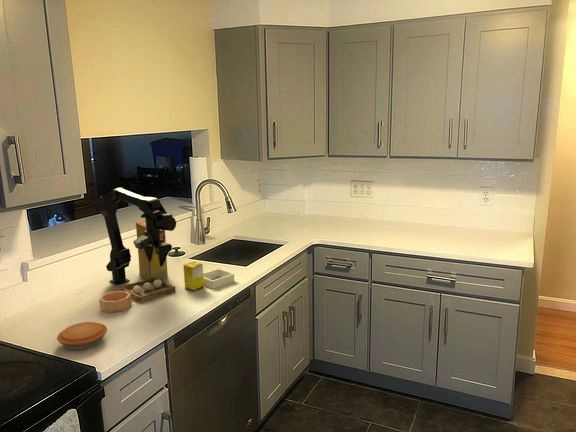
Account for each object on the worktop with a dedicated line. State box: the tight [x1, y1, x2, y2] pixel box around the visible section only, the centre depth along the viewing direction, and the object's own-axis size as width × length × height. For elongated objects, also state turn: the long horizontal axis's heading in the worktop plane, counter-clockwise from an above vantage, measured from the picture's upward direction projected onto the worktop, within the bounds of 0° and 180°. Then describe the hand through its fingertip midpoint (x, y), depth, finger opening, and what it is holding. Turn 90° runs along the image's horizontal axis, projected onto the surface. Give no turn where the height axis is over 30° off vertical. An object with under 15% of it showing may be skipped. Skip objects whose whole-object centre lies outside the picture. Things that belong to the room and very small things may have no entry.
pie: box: [56, 321, 108, 351], centre depth 159 cm, size 15×16×5 cm
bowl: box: [98, 290, 133, 313], centre depth 187 cm, size 11×11×4 cm
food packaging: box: [135, 221, 169, 280], centre depth 220 cm, size 13×9×25 cm
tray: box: [119, 277, 176, 304], centre depth 202 cm, size 17×16×2 cm
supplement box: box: [183, 261, 205, 292], centre depth 205 cm, size 6×6×11 cm
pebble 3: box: [153, 279, 162, 288], centre depth 205 cm, size 4×4×4 cm
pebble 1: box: [133, 286, 142, 294], centre depth 198 cm, size 4×4×4 cm
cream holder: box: [203, 268, 236, 290], centre depth 213 cm, size 12×13×4 cm
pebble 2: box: [143, 283, 152, 291], centre depth 202 cm, size 4×4×4 cm
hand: (155, 263), depth 203 cm, fingers open, 9 cm apart
